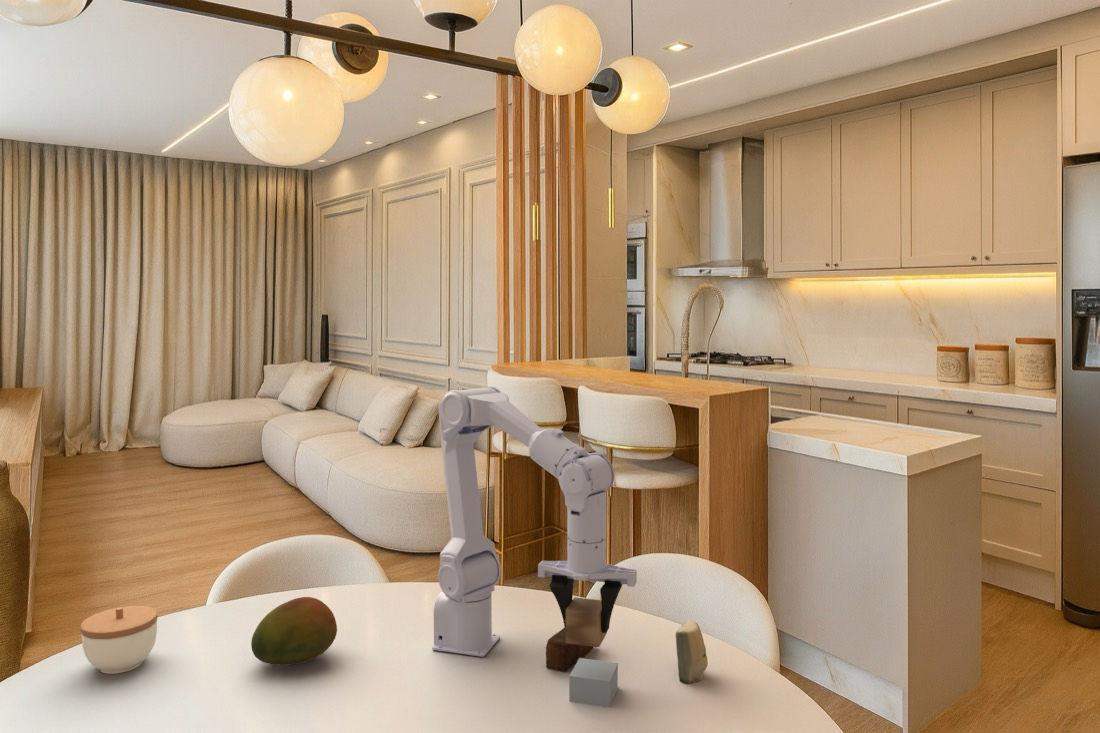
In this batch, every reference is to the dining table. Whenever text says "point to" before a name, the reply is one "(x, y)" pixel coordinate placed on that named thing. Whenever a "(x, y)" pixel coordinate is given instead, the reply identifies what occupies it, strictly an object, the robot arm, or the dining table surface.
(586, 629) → the walnut cube
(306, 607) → the fruit
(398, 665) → the dining table surface
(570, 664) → the brick
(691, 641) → the tan tapered stone
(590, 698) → the slate block
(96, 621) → the lidded jar
